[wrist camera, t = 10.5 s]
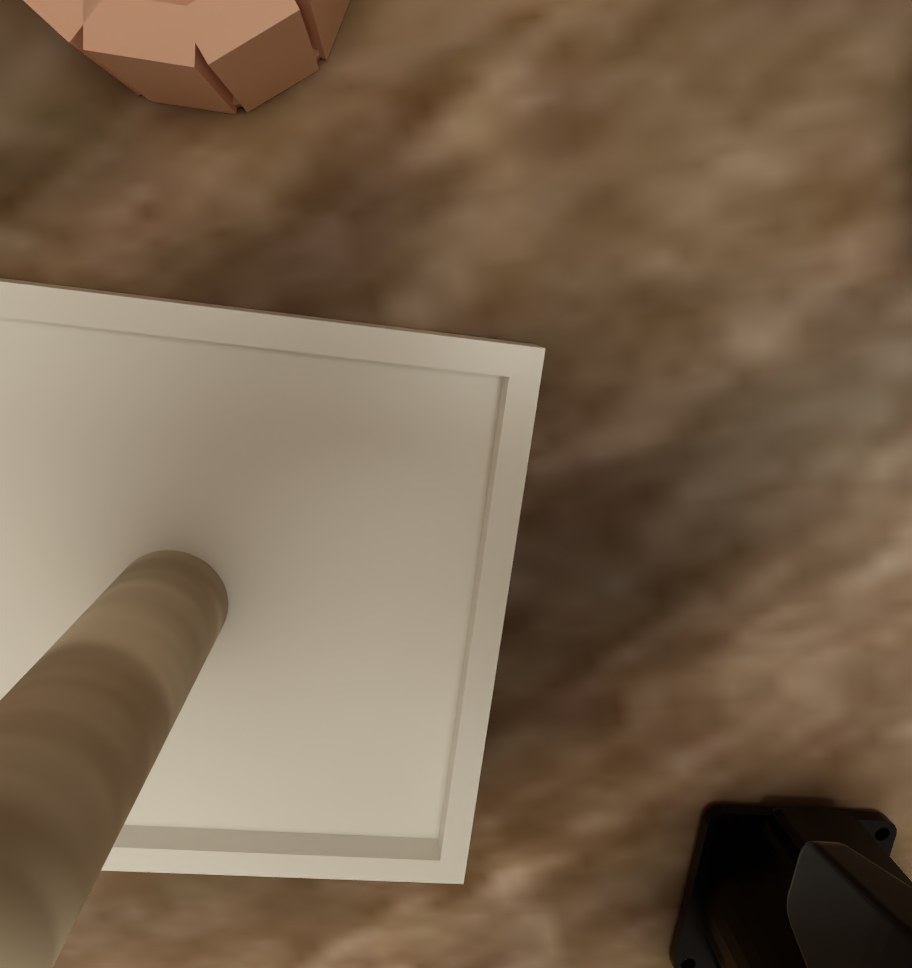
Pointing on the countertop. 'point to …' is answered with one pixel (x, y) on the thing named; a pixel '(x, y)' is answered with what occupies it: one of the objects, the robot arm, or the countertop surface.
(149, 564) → the dowel
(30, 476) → the tray
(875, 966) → the robot arm
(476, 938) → the countertop surface
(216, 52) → the cup
